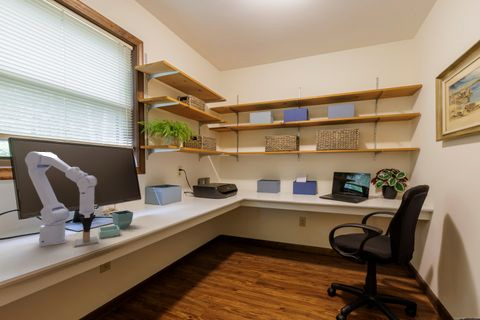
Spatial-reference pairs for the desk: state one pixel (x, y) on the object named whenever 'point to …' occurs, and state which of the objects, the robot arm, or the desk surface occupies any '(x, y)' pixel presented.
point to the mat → (81, 246)
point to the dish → (108, 231)
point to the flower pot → (122, 218)
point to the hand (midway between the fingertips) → (86, 229)
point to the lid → (86, 240)
